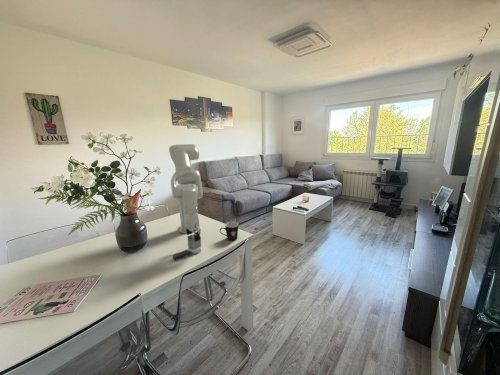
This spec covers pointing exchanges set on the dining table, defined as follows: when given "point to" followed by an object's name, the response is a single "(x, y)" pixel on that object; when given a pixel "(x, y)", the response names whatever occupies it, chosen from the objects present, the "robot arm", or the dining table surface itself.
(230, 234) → the coffee mug
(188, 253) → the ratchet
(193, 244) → the socket
